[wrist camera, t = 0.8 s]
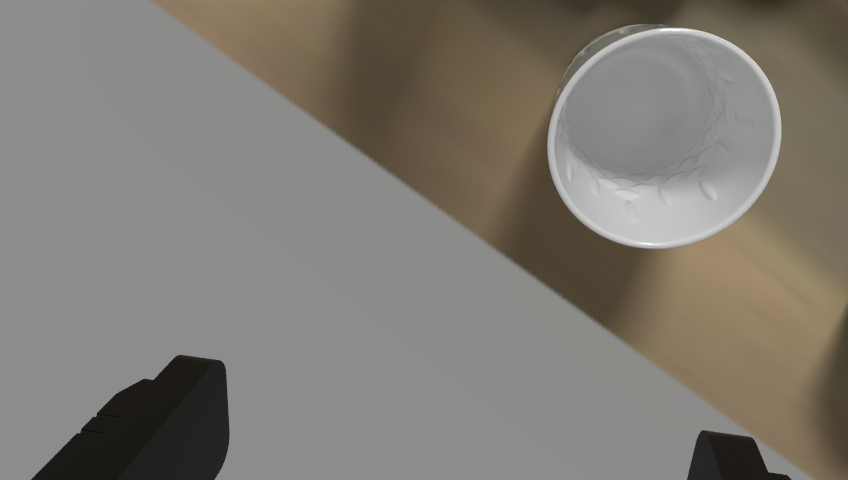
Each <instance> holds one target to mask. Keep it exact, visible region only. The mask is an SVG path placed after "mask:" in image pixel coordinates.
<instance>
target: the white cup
mask: <svg viewBox="0 0 848 480" xmlns="http://www.w3.org/2000/svg"><path fill="white" fill-rule="evenodd" d="M780 144H781V116H780V110H779V106H778V102H777V99H776V96H775V93H774V91H773V88H772V86H771V84H770V82H769V81H768V79H767V77H766V76H765V74H764V73H763V71H762V70H761V69H760V67H759V66H758V65H757V64H756V63H755V62H754V61H753V60H752V59H751V58H750V57H749V56H748V55H747V54H746V53H745V52H743V51H742V50H741V49H739V48H738V47H737V46H735V45H733V44H732V43H730V42H728V41H726V40H724V39H722V38H720V37H718V36H715V35H713V34H710V33H706V32H703V31H698V30H693V29H686V28H680V27H674V26H668V25H662V24H637V25H627V26H624V27H621V28H618V29H615V30H612V31H609V32H606V33H603V34H600V35H597V36H596V37H595V38H594V39H593V40H592V41H591V42H590V43H588V44H587V45H586V46H585V47H584V48H583V49H582V50H581V51H580V52H579V53H578V54H577V55H576V56H575V57H574V58H572V60H571V62H570V65H569V67H568V69H567V70H566V72H565V74H564V75H563V78H562V80H561V82H560V85H559V88H558V91H557V93H556V97H555V100H554V105H553V110H552V116H551V120H550V125H549V130H548V139H547V154H548V163H549V168H550V172H551V176H552V179H553V182H554V184H555V187H556V189H557V191H558V193H559V195H560V197H561V198H562V200H563V202H564V203H565V205H566V206H567V207H568V209H569V210H570V211H571V212H572V213H573V215H574V216H575V217H576V218H577V219H578V220H580V221H581V222H582V223H583V224H584V225H585V226H587V227H588V228H589V229H591V230H592V231H594V232H595V233H597V234H599V235H601V236H603V237H605V238H607V239H609V240H611V241H614V242H617V243H620V244H623V245H627V246H631V247H637V248H645V249H667V248H675V247H680V246H685V245H689V244H692V243H695V242H698V241H701V240H704V239H706V238H708V237H710V236H712V235H714V234H716V233H718V232H720V231H722V230H723V229H725V228H726V227H728V226H729V225H731V224H732V223H733V222H735V221H736V220H737V219H738V218H740V217H741V216H742V215H743V214H744V213H745V212H746V211H747V210H748V209H749V208H750V207H751V206H752V205H753V204H754V202H755V201H756V200H757V199H758V197H759V196H760V194H761V193H762V191H763V190H764V188H765V187H766V185H767V183H768V181H769V179H770V177H771V175H772V173H773V170H774V168H775V165H776V162H777V159H778V155H779V150H780Z"/></svg>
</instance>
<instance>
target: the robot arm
mask: <svg viewBox="0 0 848 480" xmlns="http://www.w3.org/2000/svg"><path fill="white" fill-rule="evenodd" d="M228 445H229V416H228V399H227V380H226V369H225V366H224V363H223V362H222V361H220V360H213V359H206V358H198V357H192V356H185V355H178V356H176V357H175V358H174V359H173V360H172V361H171V362H170V363H169V364H168V365H167V366H166V367H165V368H164V370H163V371H162V372H161V373H160V374H159V375H158V376H157V377H156V378H155V379H154V380H149V379H143V380H141V381H139V382H137V383H135V384H133V385H132V386H130V387H128V388H126V389H124V390H122V391H121V392H119V393H117V394H116V395H115V396H114V397H113V398H112V399H111V400H110V401H109V402H108V403H107V404H106V405H105V406H104V407H103V408H102V409H101V410H100V411H99V412H98V413H97V416H96V417H93V418H92V419H91V420H90V421H89V422H88V423H87V424H86V425H85V426H84V427H83V428H82V429H81V433H80V434H79V433H77V434H76V435H75V436H74V437H73V438H72V439H71V440H70V441H69V442H68V443H67V444H66V445H65V446H64V447H63V448H62V449H61V450H60V451H59V452H58V453H57V454H56V455H55V456H54V457H53V458H52V459H51V460H50V461H49V462H48V463H47V464H46V465H45V466H44V467H43V468H42V469H41V470H40V471H39V472H38V473H37V474H36V475H35V476H34V477H33V478H32V479H31V480H214V479H215V478H216V476H217V474H218V473H219V471H220V470H221V468H222V465H223V463H224V461H225V458H226V454H227V450H228ZM687 480H791V479H790V478H789V477H788V476H787V475H783V474H776V473H769V472H768V471H767V468H766V466H765V464H764V461H763V459H762V456H761V454H760V452H759V449H758V447H757V445H756V442H755V440H754V439H753V438H751V437H746V436H739V435H732V434H725V433H717V432H711V431H704V430H703V431H701V432H700V434H699V436H698V438H697V441H696V445H695V449H694V453H693V457H692V461H691V466H690V470H689V474H688V478H687Z"/></svg>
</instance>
